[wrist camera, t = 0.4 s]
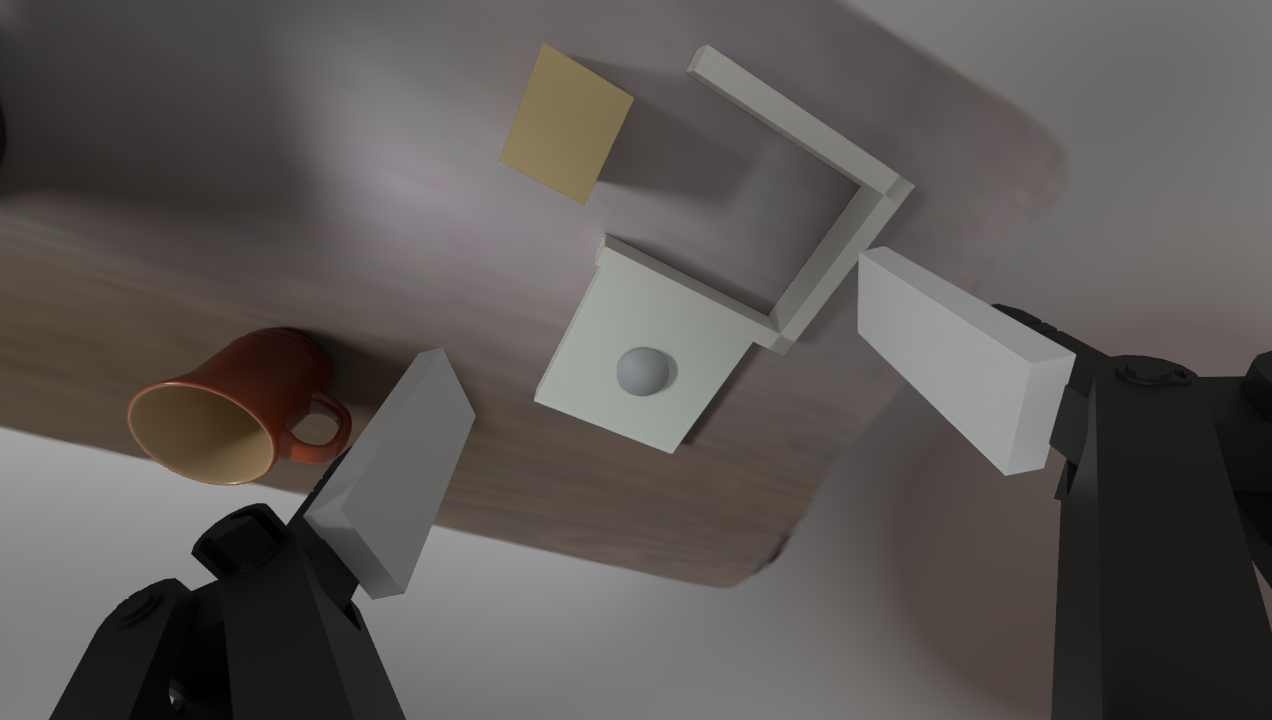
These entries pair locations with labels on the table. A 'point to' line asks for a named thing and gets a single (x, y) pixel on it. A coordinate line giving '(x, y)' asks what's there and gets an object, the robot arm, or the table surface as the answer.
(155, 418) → the mug
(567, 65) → the chute block
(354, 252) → the table surface
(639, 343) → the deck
